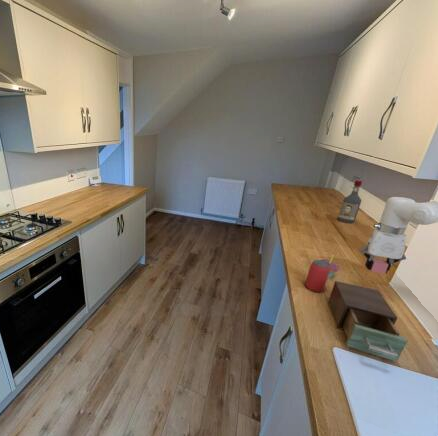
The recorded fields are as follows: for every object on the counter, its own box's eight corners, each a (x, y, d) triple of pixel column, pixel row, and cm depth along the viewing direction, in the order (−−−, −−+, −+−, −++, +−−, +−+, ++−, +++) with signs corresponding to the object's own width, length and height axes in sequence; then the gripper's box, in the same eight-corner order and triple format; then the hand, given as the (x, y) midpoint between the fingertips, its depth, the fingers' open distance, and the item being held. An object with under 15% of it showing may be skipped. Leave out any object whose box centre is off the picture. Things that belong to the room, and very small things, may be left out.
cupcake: (339, 281, 104) (348, 257, 100) (318, 278, 106) (325, 255, 102) (330, 270, 112) (337, 248, 108) (310, 268, 114) (317, 246, 110)
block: (380, 268, 99) (384, 259, 98) (384, 274, 95) (388, 264, 94) (367, 266, 101) (370, 257, 99) (370, 271, 97) (374, 262, 96)
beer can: (304, 281, 104) (311, 257, 100) (322, 286, 101) (330, 261, 97) (304, 289, 99) (312, 264, 95) (323, 294, 96) (332, 269, 91)
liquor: (340, 217, 182) (352, 179, 172) (354, 221, 176) (368, 181, 165) (336, 220, 177) (348, 180, 166) (351, 224, 170) (365, 183, 160)
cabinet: (385, 341, 74) (397, 317, 71) (337, 327, 80) (345, 304, 76) (369, 312, 87) (378, 290, 83) (328, 301, 92) (335, 280, 89)
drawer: (404, 374, 63) (416, 353, 61) (351, 357, 68) (359, 337, 65) (378, 328, 78) (387, 309, 76) (336, 316, 83) (343, 298, 80)
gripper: (366, 228, 92) (353, 269, 98) (426, 236, 85) (407, 279, 91) (360, 222, 99) (348, 261, 105) (415, 229, 92) (398, 270, 98)
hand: (376, 269), depth 98 cm, fingers closed on block, 4 cm apart
